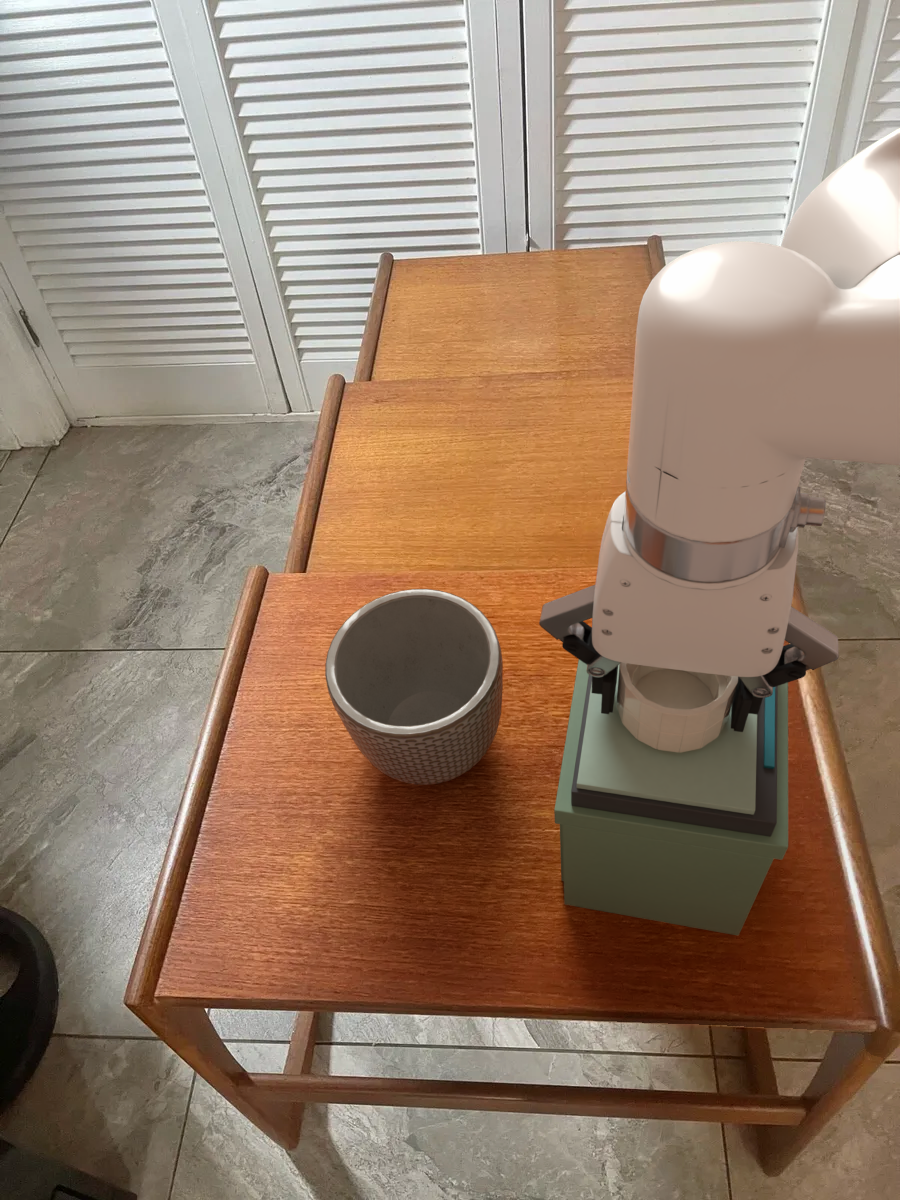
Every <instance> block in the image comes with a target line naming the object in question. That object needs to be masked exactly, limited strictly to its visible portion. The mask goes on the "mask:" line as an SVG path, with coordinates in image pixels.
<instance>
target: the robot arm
mask: <svg viewBox="0 0 900 1200" xmlns="http://www.w3.org/2000/svg"><path fill="white" fill-rule="evenodd" d="M784 231H785V232H784V235H783V238H782V241H781V245H777V244H772V243H767V242H761V241H751V240H748V241H747V240H736V241H735V240H733V241H723V242H716V243H712V244H708V245H704V246H700V247H697V248H695V249H692V250H690V251H688V252H684V253H683V254H681V255H679V256H677V257H676V258H674V259H673V260H671V261H670V262H668V263H666V265H664V266H663V267H662V268H661V269H660V270H659V271H658V273H656V275H655V276H654V277H652V279H651V281H650V283H649V284H648V286H647V288H646V290H645V291H644V293H643V295H642V298H641V302H640V304H639V308H638V315H637V320H636V321H637V323H636V332H635V347H634V359H633V360H634V361H633V378H632V393H631V394H632V395H631V409H630V421H629V422H630V423H629V424H630V425H629V436H628V437H629V438H628V449H627V450H628V452H627V464H626V465H627V466H626V479H625V480H626V482H625V491H624V492H622V493H621V494H620V495H618V496H617V497H616V499H615V500H614V502H613V503H612V506H611V508H610V510H609V513H608V516H607V518H606V522H605V525H604V530H603V533H602V536H601V542H600V547H599V553H598V561H597V562H598V563H597V569H596V577H595V584H593V585H591V586H588V587H585V588H583V589H580V590H577V591H575V592H572V593H570V594H567V595H563V596H562V597H559V598H556V599H554V600H550V601H549V602H545V603H544V604H543V605H542V607H541V612H540V616H539V623H538V624H539V627H541V628H542V629H543V630H544V631H545V632H547V633H548V634H549V635H550V636H551V637H553V639H555V640H559V641H560V642H561V643H562V644H561V647H562V649H563V650H564V651H566V652H567V653H569V654H570V655H572V656H573V657H574V658H576V659H578V660H581V661H582V662H584V663H585V664H587V670H586V671H587V673H588V674H589V675H591V676H592V693H595V694H602V703H601V713H603V714H609V712H611V713H613V706H614V698H615V690H616V683H617V674H618V665H619V664H620V663H622V662H623V663H629V664H636V665H643V666H651V667H659V668H667V669H674V670H683V671H691V672H700V673H708V674H717V675H727V676H737V677H738V684H737V687H736V691H735V695H734V698H733V702H732V708H731V729H734V731H737V732H743V730H744V727H745V724H746V720H747V717H748V714H758V712H759V709H760V706H761V703H762V700H763V698H766V697H770V696H771V695H772V694H773V687H776V686H779V685H782V684H785V683H788V684H789V683H791V682H794V681H797V680H800V679H802V678H804V677H805V676H806V675H807V672H808V671H809V670H812V671H814V670H816V669H818V668H821V667H823V666H826V665H828V664H831V663H832V662H836V661H837V660H839V656H840V655H839V653H840V652H839V637H838V636H837V635H836V634H835V633H833V632H832V631H830V630H828V629H827V628H826V627H824V626H823V625H820V624H819V623H818V622H816V621H815V620H814V619H811V618H810V617H808V616H807V615H806V614H804V613H802V612H801V611H799V610H798V609H796V608H794V607H793V606H792V604H793V598H794V592H795V580H796V572H797V571H796V570H797V559H798V555H799V529H800V528H801V529H804V528H805V526H810V527H811V526H812V527H822V526H823V523H824V519H825V514H826V508H827V507H826V505H827V502H826V501H827V500H826V498H825V497H821V496H820V497H819V496H810V495H809V493H808V492H807V493H805V492H801V486H799V485H800V481H801V478H802V477H801V476H802V473H803V470H804V467H805V463H806V459H818V460H819V459H820V460H831V461H832V460H833V461H841V462H842V461H843V462H844V461H845V462H855V463H865V464H866V463H868V464H877V465H878V464H879V465H888V466H900V127H898V128H897V129H894V131H892V132H890V133H889V134H887V135H885V136H883V137H881V138H880V139H878V140H876V141H875V142H873V143H871V144H869V145H868V146H867V147H865V148H863V149H862V150H860V151H859V152H858V153H856V154H855V155H853V156H852V157H851V158H850V159H849V158H848V160H847V161H845V162H844V163H842V164H841V165H840V166H839V167H837V168H836V169H835V170H832V172H830V174H828V175H827V177H825V178H824V179H823V180H821V182H820V183H819V184H818V185H817V186H816V187H815V188H813V190H811V191H810V193H809V194H808V195H807V196H806V197H805V199H804V200H803V201H802V202H801V204H800V205H799V206H798V208H797V209H796V210H795V212H794V214H793V215H792V217H791V219H790V221H789V223H788V225H787V227H786V229H785V230H784ZM590 619H591V626H590V624H587V622H585V621H587V620H590ZM785 642H787V643H788V644H785ZM784 644H785V645H784Z"/></svg>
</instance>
